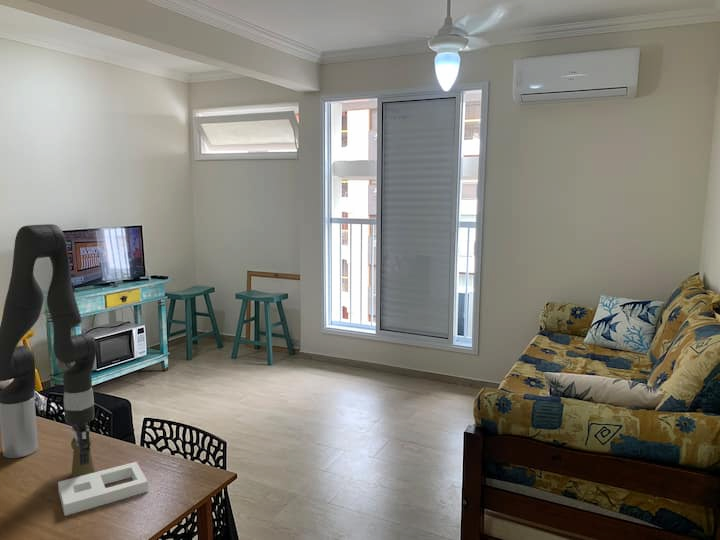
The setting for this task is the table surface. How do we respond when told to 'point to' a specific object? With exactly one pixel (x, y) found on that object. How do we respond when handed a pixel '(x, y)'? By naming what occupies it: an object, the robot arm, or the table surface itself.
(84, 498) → the socket board
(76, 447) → the olive knobbed peg
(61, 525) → the table surface
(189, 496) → the table surface
